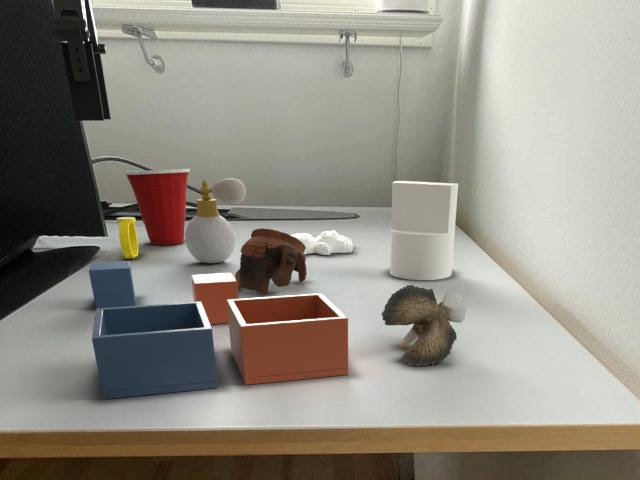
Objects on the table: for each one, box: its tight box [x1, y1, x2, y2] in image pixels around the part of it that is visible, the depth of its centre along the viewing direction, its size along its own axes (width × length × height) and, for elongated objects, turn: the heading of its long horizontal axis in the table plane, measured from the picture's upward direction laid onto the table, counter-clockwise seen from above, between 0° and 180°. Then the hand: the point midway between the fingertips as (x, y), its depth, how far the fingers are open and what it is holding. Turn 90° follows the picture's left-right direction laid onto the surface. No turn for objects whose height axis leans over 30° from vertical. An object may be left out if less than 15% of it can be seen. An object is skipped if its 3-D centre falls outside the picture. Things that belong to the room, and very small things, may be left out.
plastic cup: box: [123, 168, 191, 246], centre depth 114 cm, size 11×11×12 cm
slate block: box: [88, 260, 137, 310], centre depth 79 cm, size 4×4×4 cm
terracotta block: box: [190, 272, 239, 325], centre depth 73 cm, size 4×4×4 cm
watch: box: [116, 216, 139, 259], centre depth 103 cm, size 6×3×6 cm, turn 6°
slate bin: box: [91, 301, 219, 400], centre depth 57 cm, size 9×9×5 cm
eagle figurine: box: [381, 284, 468, 367], centre depth 64 cm, size 8×7×9 cm
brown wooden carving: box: [234, 227, 308, 295], centre depth 86 cm, size 12×10×8 cm
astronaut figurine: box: [290, 229, 354, 256], centre depth 110 cm, size 9×12×3 cm
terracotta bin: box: [227, 292, 349, 386], centre depth 60 cm, size 9×9×5 cm
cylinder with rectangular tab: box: [389, 180, 459, 281], centre depth 93 cm, size 9×9×12 cm
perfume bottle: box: [184, 177, 247, 264], centre depth 99 cm, size 8×10×12 cm
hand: (94, 120), depth 72 cm, fingers open, 13 cm apart
